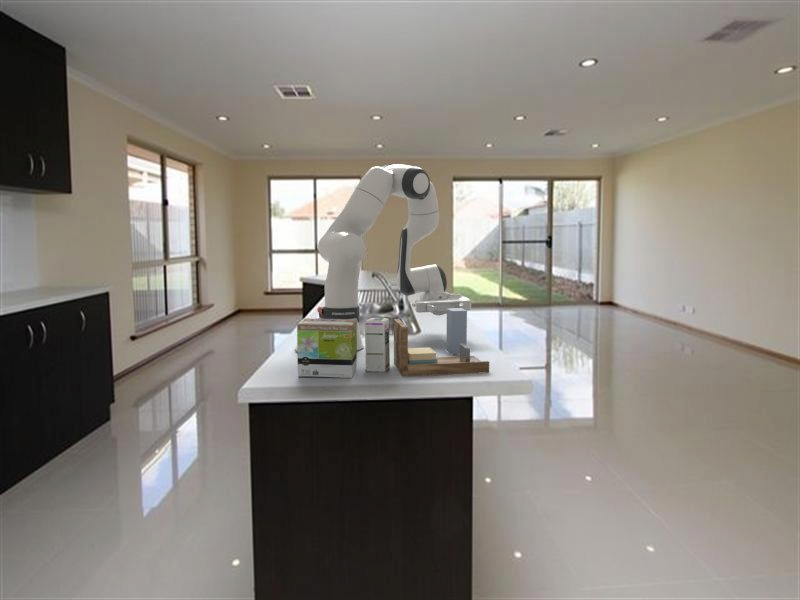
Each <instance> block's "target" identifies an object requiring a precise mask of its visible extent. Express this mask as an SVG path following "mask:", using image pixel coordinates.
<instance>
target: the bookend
mask: <svg viewBox="0 0 800 600" xmlns="http://www.w3.org/2000/svg"><path fill="white" fill-rule="evenodd" d="M459 356H460V361H461V362H475V361H481V359H479V358H478V357H476V358H474V359H470V356H471V347H469V346H468V345H467V346H466V345H465V344H460V354H459Z"/></svg>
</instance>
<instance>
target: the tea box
mask: <svg viewBox="0 0 800 600" xmlns="http://www.w3.org/2000/svg"><path fill="white" fill-rule="evenodd" d="M296 325H297V326H296V329H297V330H296V332H297V333H296V335H297V336H296V337H297V338H296V340H297V341H296V345H297V351H296V355H297V358H296V359H297V361H296V362H297V377H298V378H301V377H316V378H317V377H322V378H337V379H338V378H340V379H341V378H342V379H352V378H353V376H354V374H355V373H356V370H357V367H358V365H357V363H358V362H357V361H358V360H357V359H358V350H357V320H352V319H319V318H310V317H309V318H306V317H305V319H303V320H302V321H300V322H299V323H298V324H296Z"/></svg>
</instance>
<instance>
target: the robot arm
mask: <svg viewBox="0 0 800 600" xmlns="http://www.w3.org/2000/svg"><path fill="white" fill-rule="evenodd" d="M390 196H394V197H397V198H404V199H406V200H407V211H408V219H407V222H406V225H405V227H402V229H401V231H400V237H399V238H400V239H399V248H398V249H399V250H398V262H397V263H398V264H397V265H398V266H397V273H396V280H395V281H396V288H397V291H398V292H399V293H401V294H402V295H404V296H406V297H408V296H412V295H415V294H419V293H420V296H419V299H418V300H415V301H414V303H411V306H412V307H413V308H414V311H415V313H431V314H433V315H435V316H444V315H447V309H448V308H462V309H464V310H467V311H471V310H472V300H471V299H470V298H469V297H467V296H463V295H462V294H461V293H457V292H456V293H455V292H452V293H451V292H446V290H447V288H448V281H447V276H446V273H445V271H444V269H443V268H442V267H441V266H439V265H438V264H436V263H434V264H430V265H428V264H427V265H424V266H418V267H413V268H412V267H411V260H412V259H411V257H412V249H413V248H414V246H415V245H416V244H417V243H419V241H421V240H423V239H424V238H427V237H428V236H430V235H432V233H434V232H435V231H436V229H437V228H438V226H439V222H440V210H439V202H438V196H437V193H436V188H435V186H434V184H433V182H431V179H430V176H429V174H428V172H427V171H426V170H425V169H423V168H421V167H419V166H416V165H415V166H413V165H407V164H403V163H400V164H399V163H397V164H394V163H388V164H385V165H383V166H373V167H370V169H369V170H367V171H366V173H365V174H364V175H363V176H362V178H361V179H360V181H359V182H358V183H357V185H356V186H355V188H354V191H353V192H352V194H351V195H350V197H349V199H348V201H347V202H346V204H345V206H344V207H343V209H342V210H341V212H340V213H339V215H338V216H337V217H336V218H335V219H334V221H333V222H332V223H331V225H330V226H329V227H328V229H327V230H326V232H325V233H324V234H323V235H322V236H321V237H320V239H319V240H318V244H317V249H318V253H319V255H320V256H321V258H322V259H323V260H324V261H325V262H328V268H327V274H326V279H325V281H324V306H318V307H317V312H318V317H319V318H318V319H352V320H357V351H359V350H362V349H363V348H364V344H363V341H362V336H361V330H360V321H361V309H360V305H359V280H360V272H361V267H362V263H363V259H364V257H365V255H366V250H367V247H366V243H365V241H364V240H363V237H364V235H365V234H367V232H368V231H369V230H370V229H371V228H373V226H374V224H375V223H376V221H377V219H378V218H379V216H380V214H381V212H382V210H383V209H384V207H385V205H386V202H387V200H388V198H389V197H390ZM295 352H297V344H296V345H295Z"/></svg>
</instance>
